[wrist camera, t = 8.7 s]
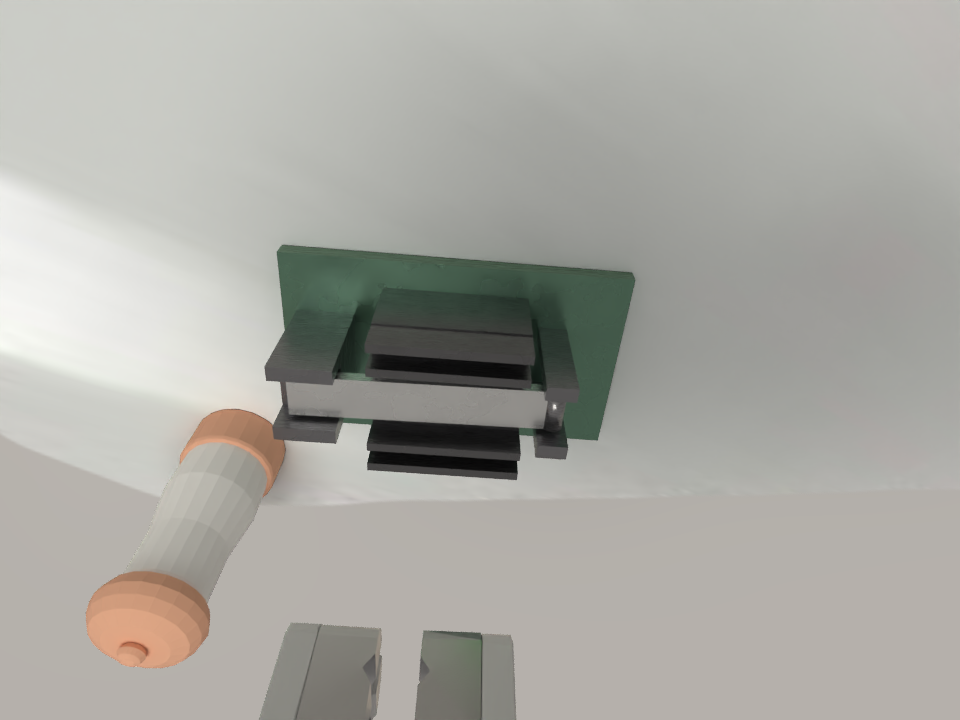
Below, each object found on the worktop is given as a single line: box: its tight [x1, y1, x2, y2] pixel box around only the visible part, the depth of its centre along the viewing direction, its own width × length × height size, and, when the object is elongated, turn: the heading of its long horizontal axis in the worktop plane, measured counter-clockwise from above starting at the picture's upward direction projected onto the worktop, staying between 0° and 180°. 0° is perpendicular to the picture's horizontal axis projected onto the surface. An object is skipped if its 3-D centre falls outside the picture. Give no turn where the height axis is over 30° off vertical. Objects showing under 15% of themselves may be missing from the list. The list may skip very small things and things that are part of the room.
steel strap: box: [286, 372, 566, 432], centre depth 40 cm, size 18×3×1 cm, turn 85°
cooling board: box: [265, 245, 635, 480], centre depth 42 cm, size 24×14×9 cm, turn 85°
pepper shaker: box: [86, 410, 285, 668], centre depth 43 cm, size 7×7×19 cm
